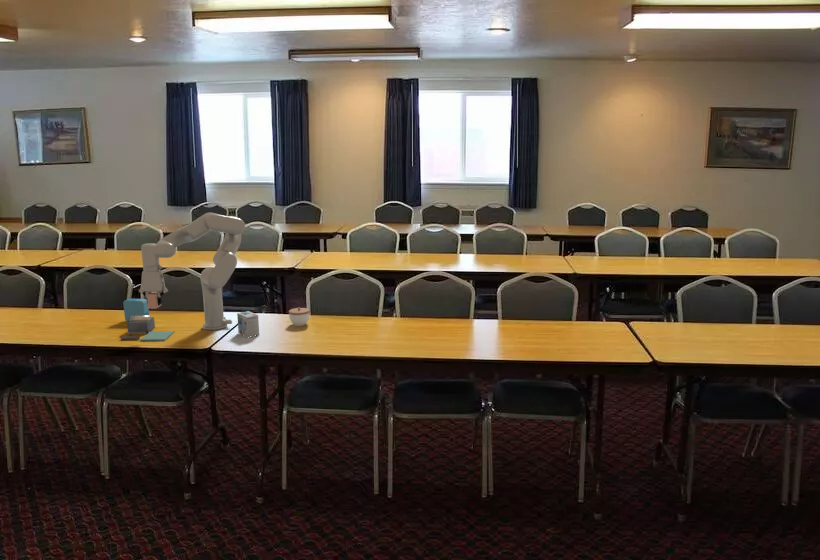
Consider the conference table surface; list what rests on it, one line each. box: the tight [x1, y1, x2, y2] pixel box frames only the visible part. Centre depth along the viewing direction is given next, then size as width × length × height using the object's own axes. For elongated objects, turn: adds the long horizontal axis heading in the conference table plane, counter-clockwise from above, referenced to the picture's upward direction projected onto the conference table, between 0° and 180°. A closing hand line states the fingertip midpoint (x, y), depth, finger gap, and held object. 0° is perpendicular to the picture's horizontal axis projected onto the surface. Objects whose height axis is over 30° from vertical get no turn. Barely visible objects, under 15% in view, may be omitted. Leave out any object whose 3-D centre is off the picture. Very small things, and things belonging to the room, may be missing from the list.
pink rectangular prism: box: [146, 292, 162, 310], centre depth 325 cm, size 4×7×7 cm, turn 1°
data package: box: [122, 298, 150, 322], centre depth 357 cm, size 12×4×12 cm, turn 79°
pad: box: [139, 330, 175, 342], centre depth 329 cm, size 12×14×1 cm
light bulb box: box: [236, 310, 260, 338], centre depth 331 cm, size 11×7×11 cm, turn 40°
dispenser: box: [120, 315, 156, 341], centre depth 334 cm, size 10×20×8 cm, turn 1°
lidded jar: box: [288, 306, 310, 327], centre depth 348 cm, size 11×11×9 cm
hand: (154, 304), depth 326 cm, fingers closed on pink rectangular prism, 4 cm apart
